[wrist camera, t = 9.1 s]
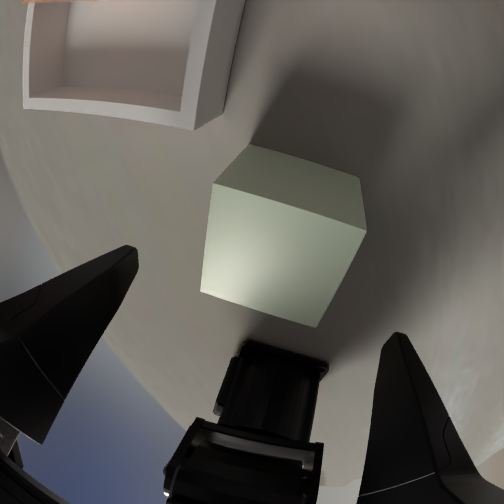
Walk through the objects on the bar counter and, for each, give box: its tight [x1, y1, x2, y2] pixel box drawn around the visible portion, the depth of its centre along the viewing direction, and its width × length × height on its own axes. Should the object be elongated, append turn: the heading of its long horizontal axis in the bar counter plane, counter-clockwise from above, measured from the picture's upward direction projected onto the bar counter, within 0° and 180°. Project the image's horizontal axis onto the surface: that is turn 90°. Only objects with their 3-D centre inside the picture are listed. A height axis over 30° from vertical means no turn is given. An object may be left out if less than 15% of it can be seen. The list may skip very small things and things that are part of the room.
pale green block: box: [200, 144, 367, 328], centre depth 12 cm, size 5×5×4 cm
